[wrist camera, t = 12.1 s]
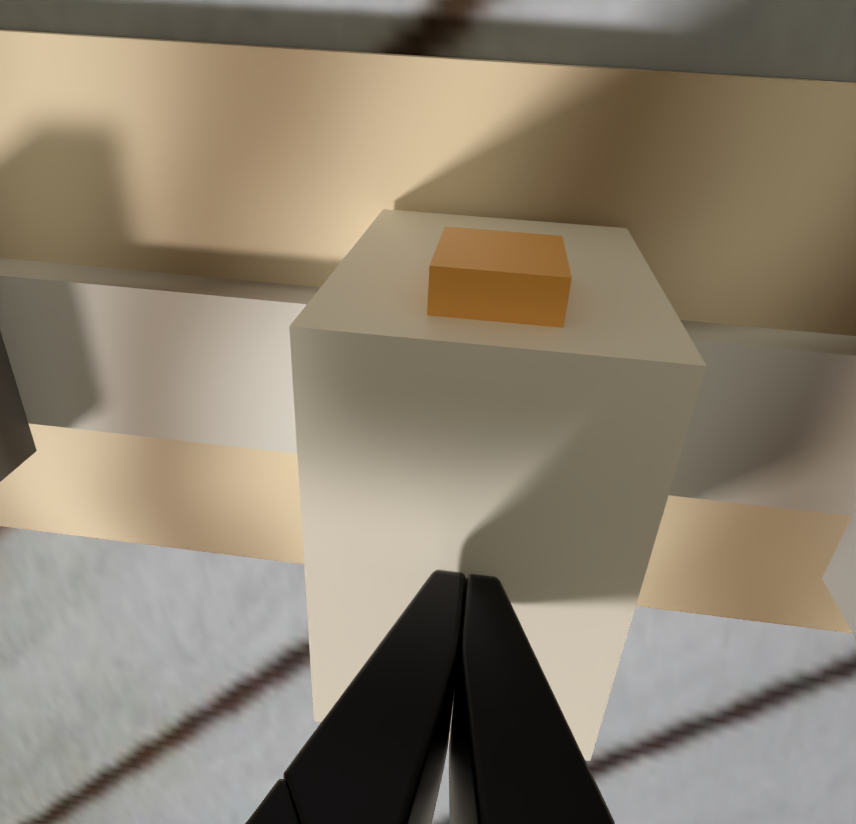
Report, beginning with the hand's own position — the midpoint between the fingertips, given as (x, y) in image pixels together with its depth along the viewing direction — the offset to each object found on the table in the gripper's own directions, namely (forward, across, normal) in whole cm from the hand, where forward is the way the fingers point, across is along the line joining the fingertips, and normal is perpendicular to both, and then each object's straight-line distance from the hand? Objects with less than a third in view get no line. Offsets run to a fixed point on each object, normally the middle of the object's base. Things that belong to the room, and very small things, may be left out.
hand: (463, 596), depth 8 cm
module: (+6, 0, 0) cm, 6 cm away
